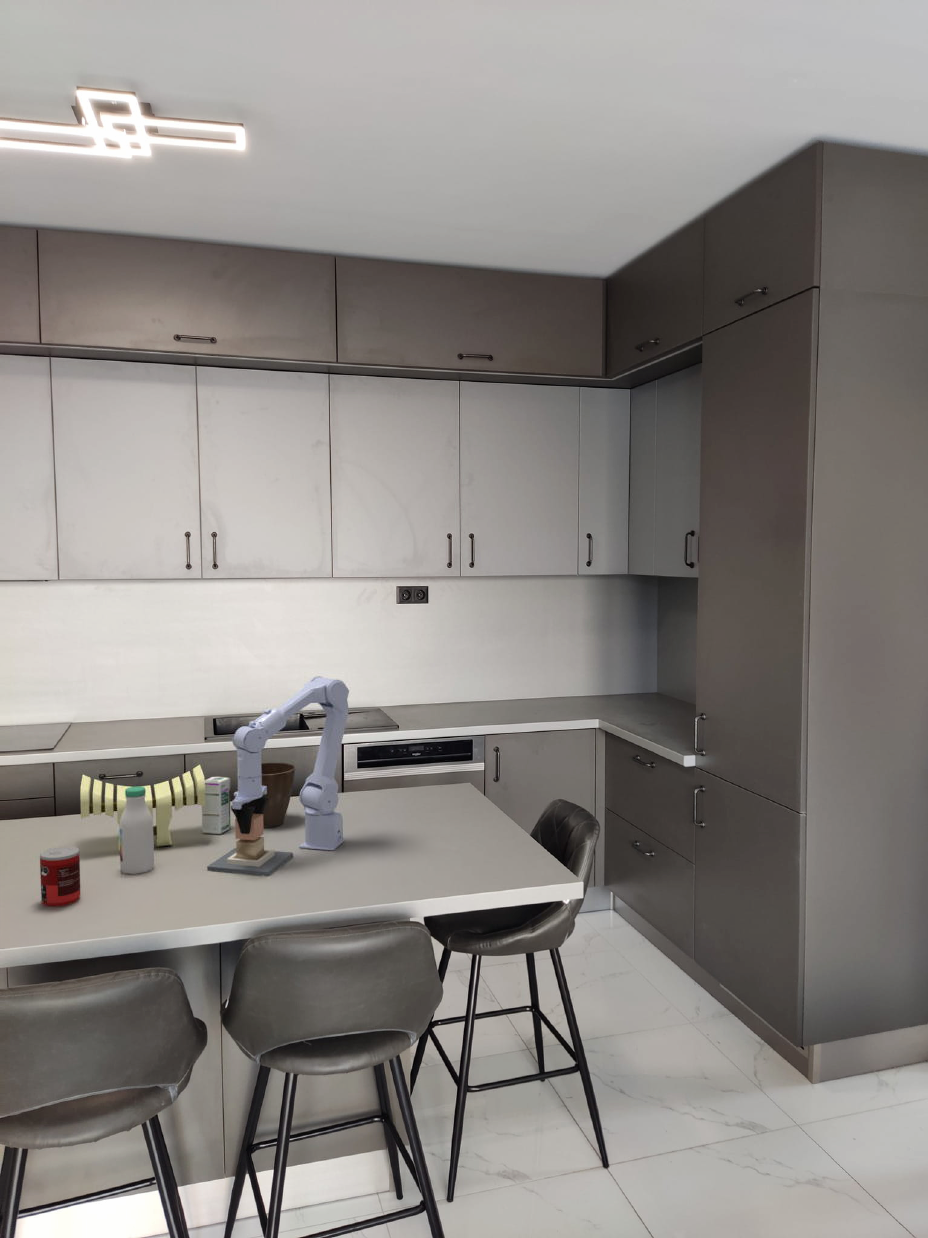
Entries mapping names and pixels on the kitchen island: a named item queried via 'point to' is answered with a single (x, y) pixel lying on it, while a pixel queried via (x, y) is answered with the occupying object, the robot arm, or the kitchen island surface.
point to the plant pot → (276, 791)
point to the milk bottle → (136, 834)
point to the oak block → (250, 849)
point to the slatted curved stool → (146, 800)
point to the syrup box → (216, 805)
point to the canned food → (60, 876)
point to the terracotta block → (255, 828)
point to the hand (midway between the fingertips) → (250, 830)
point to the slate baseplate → (250, 863)
